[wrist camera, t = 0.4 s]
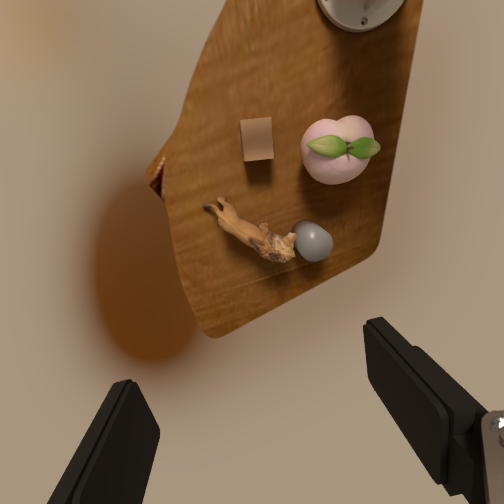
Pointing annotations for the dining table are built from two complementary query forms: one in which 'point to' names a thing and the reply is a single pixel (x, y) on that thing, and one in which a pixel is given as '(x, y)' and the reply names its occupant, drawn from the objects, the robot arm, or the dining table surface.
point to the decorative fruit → (338, 149)
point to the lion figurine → (255, 234)
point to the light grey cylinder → (312, 240)
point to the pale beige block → (256, 139)
